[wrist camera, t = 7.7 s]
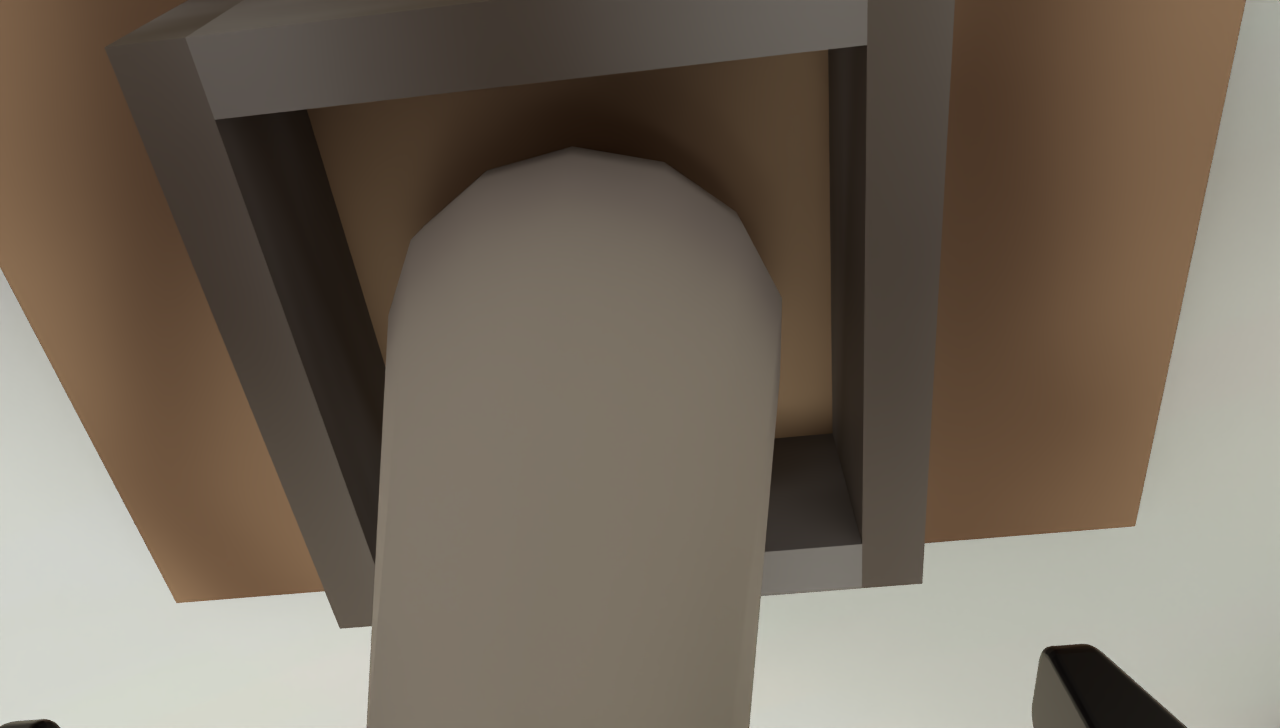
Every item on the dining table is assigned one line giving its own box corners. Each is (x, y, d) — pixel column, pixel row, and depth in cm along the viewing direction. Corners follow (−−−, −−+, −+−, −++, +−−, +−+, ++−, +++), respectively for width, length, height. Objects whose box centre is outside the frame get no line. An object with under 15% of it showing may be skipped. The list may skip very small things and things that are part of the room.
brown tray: (1290, -319, 12) (1491, -338, 9) (1125, 509, 20) (1207, 642, 17) (-176, -121, 14) (-398, -82, 11) (185, 585, 21) (111, 721, 18)
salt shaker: (585, 459, 19) (497, 1478, 8) (351, 257, 16) (-243, 1302, 5) (835, 279, 17) (1205, 1334, 6) (607, 19, 14) (477, 944, 3)
